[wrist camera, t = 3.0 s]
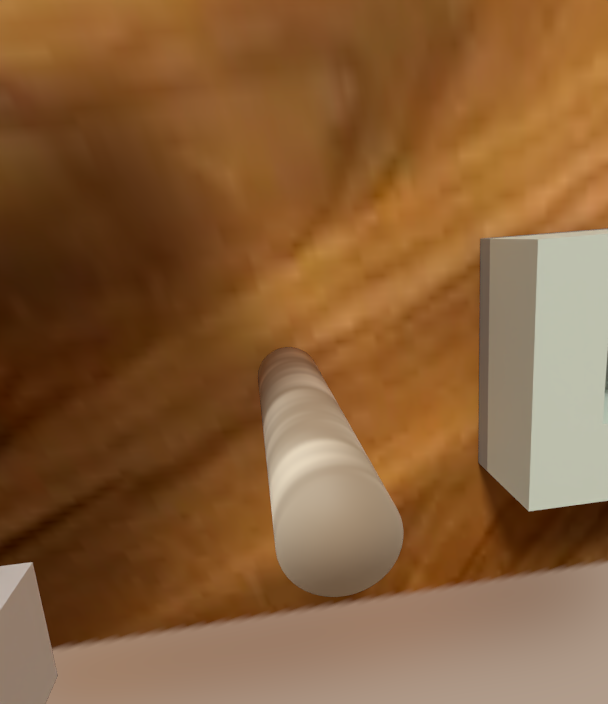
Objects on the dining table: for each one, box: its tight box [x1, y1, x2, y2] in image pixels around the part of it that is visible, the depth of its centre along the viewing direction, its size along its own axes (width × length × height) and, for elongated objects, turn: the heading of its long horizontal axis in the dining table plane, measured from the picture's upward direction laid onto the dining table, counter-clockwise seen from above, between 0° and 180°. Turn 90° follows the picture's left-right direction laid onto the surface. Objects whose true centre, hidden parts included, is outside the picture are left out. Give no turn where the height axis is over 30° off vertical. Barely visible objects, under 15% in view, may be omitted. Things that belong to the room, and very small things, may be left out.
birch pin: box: [258, 347, 403, 597], centre depth 18 cm, size 3×3×14 cm
